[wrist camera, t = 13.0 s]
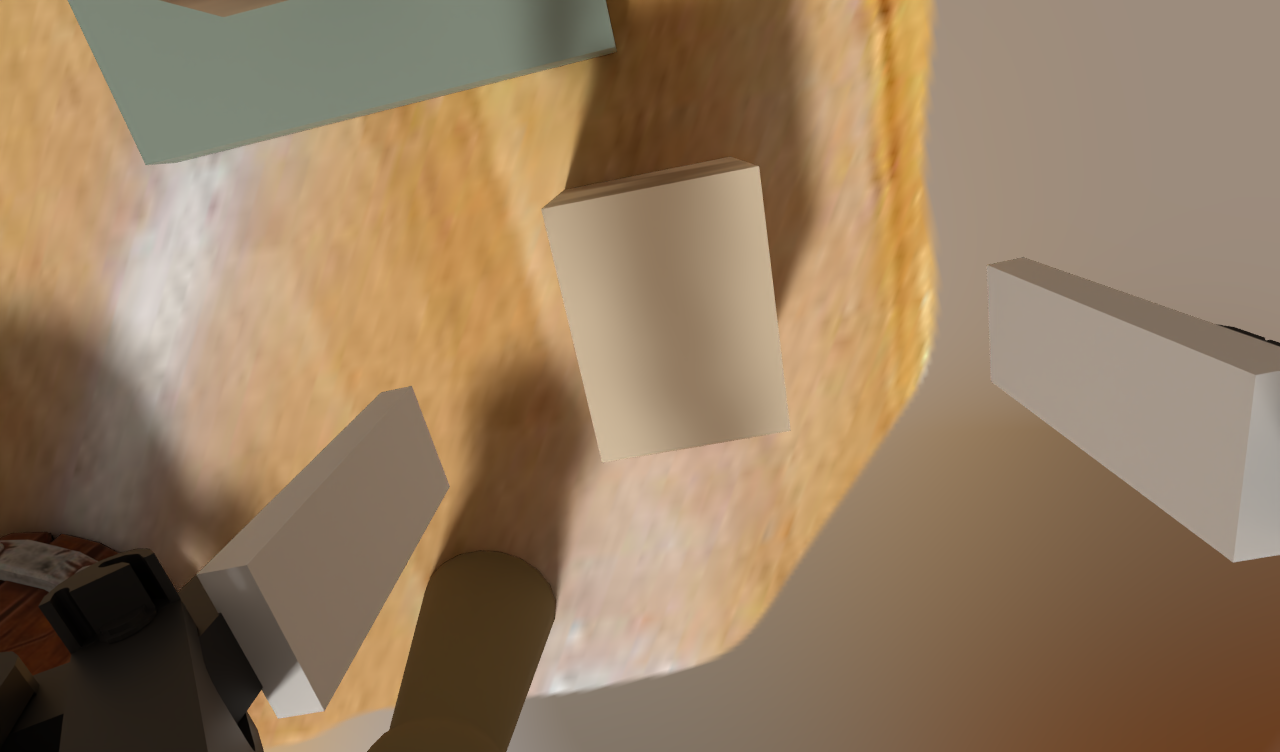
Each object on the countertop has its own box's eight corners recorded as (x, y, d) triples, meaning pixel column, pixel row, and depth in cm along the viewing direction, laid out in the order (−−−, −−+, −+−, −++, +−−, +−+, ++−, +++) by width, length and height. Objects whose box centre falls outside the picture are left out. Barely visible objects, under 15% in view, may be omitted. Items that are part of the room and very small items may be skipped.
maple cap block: (610, 390, 26) (602, 462, 21) (564, 189, 23) (541, 209, 18) (757, 364, 26) (790, 430, 20) (730, 156, 23) (759, 166, 17)
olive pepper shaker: (521, 533, 28) (454, 763, 18) (576, 634, 30) (545, 892, 20) (400, 575, 29) (271, 818, 19) (462, 671, 31) (375, 937, 21)
